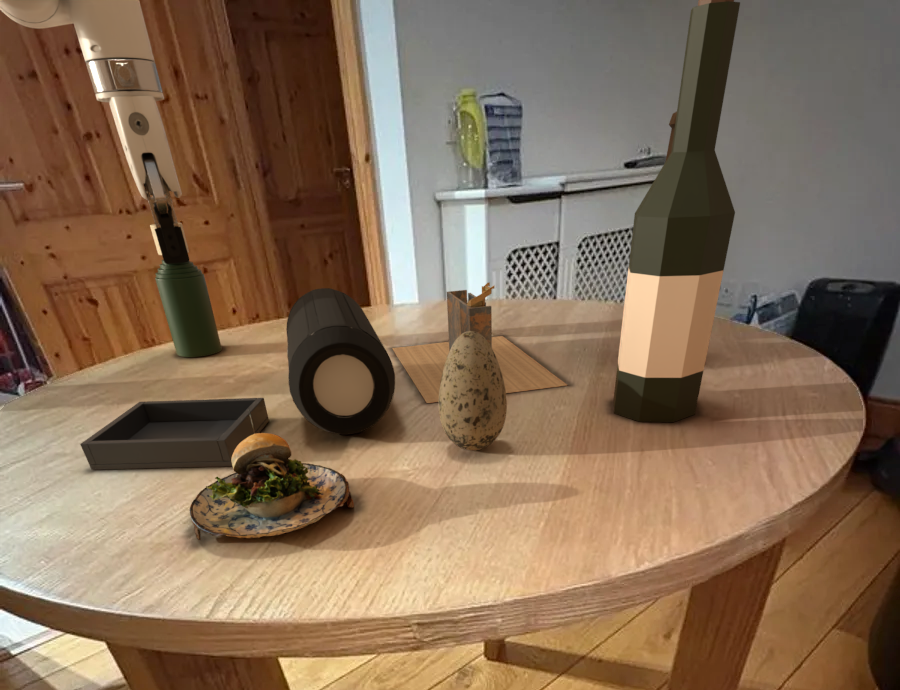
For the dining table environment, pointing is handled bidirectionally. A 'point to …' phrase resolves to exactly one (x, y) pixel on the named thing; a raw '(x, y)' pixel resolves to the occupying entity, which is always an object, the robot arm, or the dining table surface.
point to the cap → (157, 239)
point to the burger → (267, 492)
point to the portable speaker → (337, 363)
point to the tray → (176, 434)
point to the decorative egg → (472, 393)
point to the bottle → (188, 309)
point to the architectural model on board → (477, 317)
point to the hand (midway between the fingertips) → (176, 259)
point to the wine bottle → (680, 240)
